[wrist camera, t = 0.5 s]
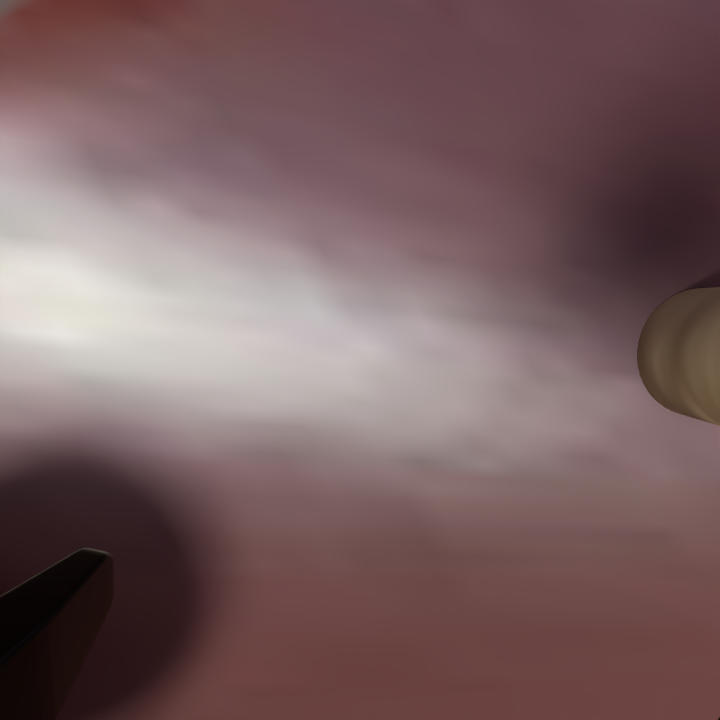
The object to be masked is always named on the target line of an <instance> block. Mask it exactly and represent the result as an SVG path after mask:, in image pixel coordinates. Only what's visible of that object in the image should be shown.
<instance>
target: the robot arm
mask: <svg viewBox="0 0 720 720" xmlns="http://www.w3.org/2000/svg"><path fill="white" fill-rule="evenodd" d="M113 595H114V575H113V557H112V555H111V554H110V553H108V552H105V551H101V550H96V549H92V548H82V549H79V550H77V551H75V552H74V553H72V554H70V555H69V556H67V557H65V558H64V559H62V560H60V561H59V562H57V563H55V564H53V565H52V566H50V567H48V568H47V569H45V570H43V571H42V572H40V573H38V574H37V575H35V576H33V577H31V578H30V579H28V580H26V581H25V582H23V583H21V584H20V585H18V586H16V587H15V588H13V589H11V590H9V591H8V592H6V593H4V594H3V595H1V596H0V720H56V718H57V716H58V714H59V712H60V710H61V708H62V706H63V704H64V702H65V700H66V698H67V696H68V694H69V692H70V690H71V688H72V686H73V684H74V682H75V680H76V677H77V675H78V673H79V671H80V669H81V667H82V665H83V663H84V661H85V659H86V657H87V655H88V653H89V651H90V649H91V647H92V644H93V642H94V640H95V638H96V636H97V634H98V632H99V630H100V628H101V626H102V624H103V622H104V620H105V618H106V616H107V614H108V611H109V609H110V607H111V604H112V600H113ZM718 720H720V717H719V719H718Z"/></svg>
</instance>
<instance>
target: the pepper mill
mask: <svg viewBox="0 0 720 720" xmlns="http://www.w3.org/2000/svg"><path fill="white" fill-rule="evenodd" d="M637 361H638V369H639V372H640V376H641V379H642V381H643V384H644V385H645V387H646V389H647V390H648V392H649V393H650V394H651V396H652V397H653V398H654V399H655V400H656V401H657V402H658V403H660V404H661V405H662V406H664V407H665V408H667V409H669V410H671V411H673V412H676V413H679V414H682V415H686V416H689V417H692V418H696V419H699V420H703V421H706V422H709V423H713V424H716V425H719V426H720V287H712V288H695V289H690V290H686V291H683V292H680V293H678V294H676V295H673V296H672V297H670V298H668V299H667V300H665V301H664V302H663V303H662V304H661V305H659V306H658V307H657V308H656V310H655V311H654V312H653V313H652V314H651V316H650V317H649V318H648V320H647V322H646V324H645V326H644V328H643V330H642V333H641V335H640V339H639V343H638V351H637Z"/></svg>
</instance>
